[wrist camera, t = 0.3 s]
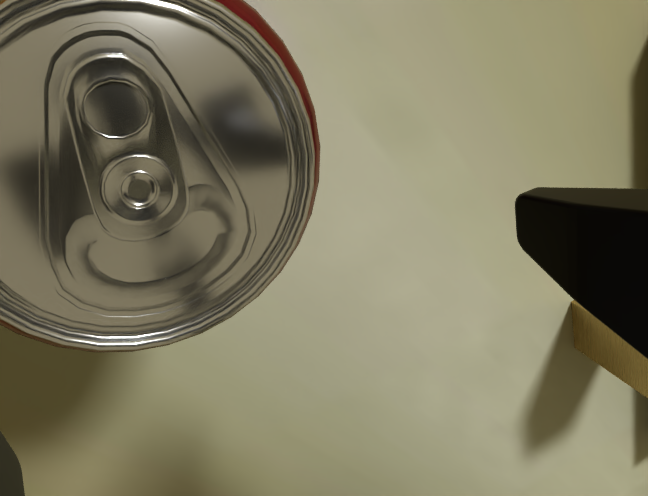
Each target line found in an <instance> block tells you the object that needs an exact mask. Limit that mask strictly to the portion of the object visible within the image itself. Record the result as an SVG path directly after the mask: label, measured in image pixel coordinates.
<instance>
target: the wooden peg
mask: <svg viewBox="0 0 648 496" xmlns="http://www.w3.org/2000/svg"><path fill="white" fill-rule="evenodd" d="M571 306H572V319H573V332H574V346H575V348H576V349H577V350H579V351H580V352H582V353H583V354H584V355H586V356H587V357H589V358H590V359H592V360H593V361H595V362H596V363H597V364H599V365H600V366H602V367H603V368H605V369H606V370H608V371H609V372H610V373H612V374H613V375H615V376H616V377H618V378H619V379H621V380H622V381H623V382H625V383H626V384H628V385H629V386H631V387H632V388H634V389H635V390H636V391H638V392H639V393H641V394H642V395H644V396H645V397H647V398H648V359H647V358H646V357H644V356H643V355H642V354H641V353H639V352H638V351H637V350H636V349H634V348H633V347H632V346H631V345H629V344H628V343H627V342H626V341H624V340H623V339H622V338H621V337H619V336H618V335H617V334H616V333H614V332H613V331H612V330H611V329H609V328H608V327H607V326H606V325H604V324H603V323H602V322H601V321H599V320H598V319H597V318H596V317H594V316H593V315H592V314H591V313H589V312H588V311H587V310H586V309H584V308H583V307H582V306H581V305H580V304H579V303H577V302H576V301H575V300H574V301H572V302H571Z"/></svg>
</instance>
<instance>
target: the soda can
mask: <svg viewBox="0 0 648 496" xmlns="http://www.w3.org/2000/svg"><path fill="white" fill-rule="evenodd" d="M319 165H320V142H319V135H318V129H317V122H316V115H315V109H314V106H313V103H312V100H311V97H310V95H309V92H308V89H307V86H306V83H305V80H304V78H303V75H302V73H301V71H300V69H299V68H298V66H297V64H296V62H295V61H294V59H293V57H292V56H291V54H290V52H289V50H288V49H287V47H286V45H285V44H284V42H283V40H282V39H281V38H280V37H279V36H278V35H277V33H276V32H275V31H274V30H273V29H272V28H271V27H270V25H269V24H268V23H267V22H266V21H265V20H264V19H263V18H262V16H261V15H260V14H259V13H258V12H257V11H256V10H255V9H254V8H253V7H251V6H250V5H249V4H248V3H246V2H245V1H244V0H0V325H2V326H4V327H6V328H8V329H10V330H12V331H14V332H15V333H17V334H20V335H23V336H26V337H29V338H32V339H35V340H38V341H41V342H44V343H47V344H50V345H53V346H56V347H63V348H70V349H77V350H83V351H90V352H132V351H138V350H144V349H149V348H155V347H160V346H166V345H170V344H173V343H175V342H178V341H181V340H184V339H187V338H190V337H193V336H195V335H198V334H201V333H203V332H205V331H207V330H209V329H210V328H212V327H214V326H216V325H218V324H220V323H221V322H223V321H225V320H227V319H229V318H231V317H232V316H234V315H235V314H236V313H237V312H239V311H240V310H241V309H243V308H244V307H245V306H246V305H248V304H249V303H250V302H252V301H253V300H254V299H255V298H257V297H258V296H259V295H260V294H261V293H262V292H263V291H264V290H265V288H266V287H267V286H268V285H269V284H270V283H271V282H272V281H273V280H274V279H275V278H276V277H277V275H278V274H279V273H280V272H281V271H282V269H283V268H284V266H285V265H286V263H287V262H288V260H289V258H290V257H291V255H292V254H293V252H294V251H295V249H296V248H297V246H298V244H299V242H300V240H301V238H302V235H303V233H304V231H305V228H306V226H307V223H308V221H309V219H310V216H311V214H312V210H313V205H314V201H315V196H316V192H317V187H318V183H319Z"/></svg>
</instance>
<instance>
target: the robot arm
mask: <svg viewBox="0 0 648 496" xmlns="http://www.w3.org/2000/svg"><path fill="white" fill-rule="evenodd" d="M515 214H516V230H517V239H518V242H519V244H520V246H521V247H522V249H523V250H524V251H525V252H526V253H527V254H528V255H529V256H530V257H531V258H532V259H533V260H534V261H535V262H536V263H537V264H538V265H539V266H540V267H541V268H542V269H543V270H544V271H545V272H546V273H547V274H548V275H549V276H550V277H551V278H552V279H553V280H555V281H556V282H557V283H558V284H559V285H560V286H561V287H562V288H563V289H564V290H565V291H566V292H567V293H568V294H569V295H570V296H571V297H572V298H573V299H574V300H575V301H576V302H577V303H579V304H580V305H581V306H582V307H583V308H584V309H586V310H587V311H588V312H589V313H591V314H592V315H593V316H594V317H596V318H597V319H598V320H599V321H601V322H602V323H603V324H604V325H606V326H607V327H608V328H609V329H611V330H612V331H613V332H614V333H616V334H617V335H618V336H619V337H621V338H622V339H623V340H624V341H626V342H627V343H628V344H629V345H631V346H632V347H633V348H634V349H636V350H637V351H638V352H639V353H641V354H642V355H643V356H644V357H646V358H647V359H648V189H617V188H549V187H538V188H534V189H532V190H529V191H527V192H524V193H522V194H520V195H519V196H518V197H517V198H516V201H515ZM0 496H25V494H24V486H23V478H22V470H21V466H20V463H19V460H18V458H17V456H16V454H15V453H14V451H13V450H12V448H11V447H10V445H9V443H8V442H7V440H6V439H5V437H4V436H3V434H2V433H1V431H0Z"/></svg>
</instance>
